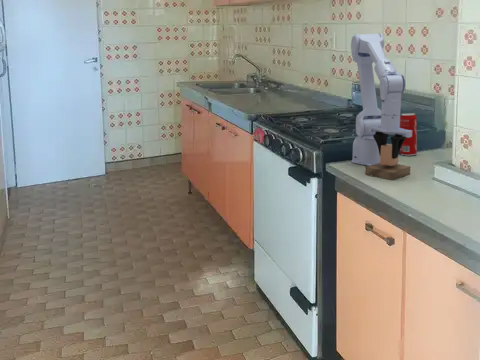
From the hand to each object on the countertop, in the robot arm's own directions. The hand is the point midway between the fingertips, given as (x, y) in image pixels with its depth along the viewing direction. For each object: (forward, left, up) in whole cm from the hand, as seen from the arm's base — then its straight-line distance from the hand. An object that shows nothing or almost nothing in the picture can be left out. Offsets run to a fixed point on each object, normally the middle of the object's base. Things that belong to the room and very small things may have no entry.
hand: (388, 156), depth 181 cm
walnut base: (0, 0, -6) cm, 6 cm away
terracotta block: (0, 0, -2) cm, 2 cm away
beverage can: (-11, +29, -6) cm, 31 cm away
